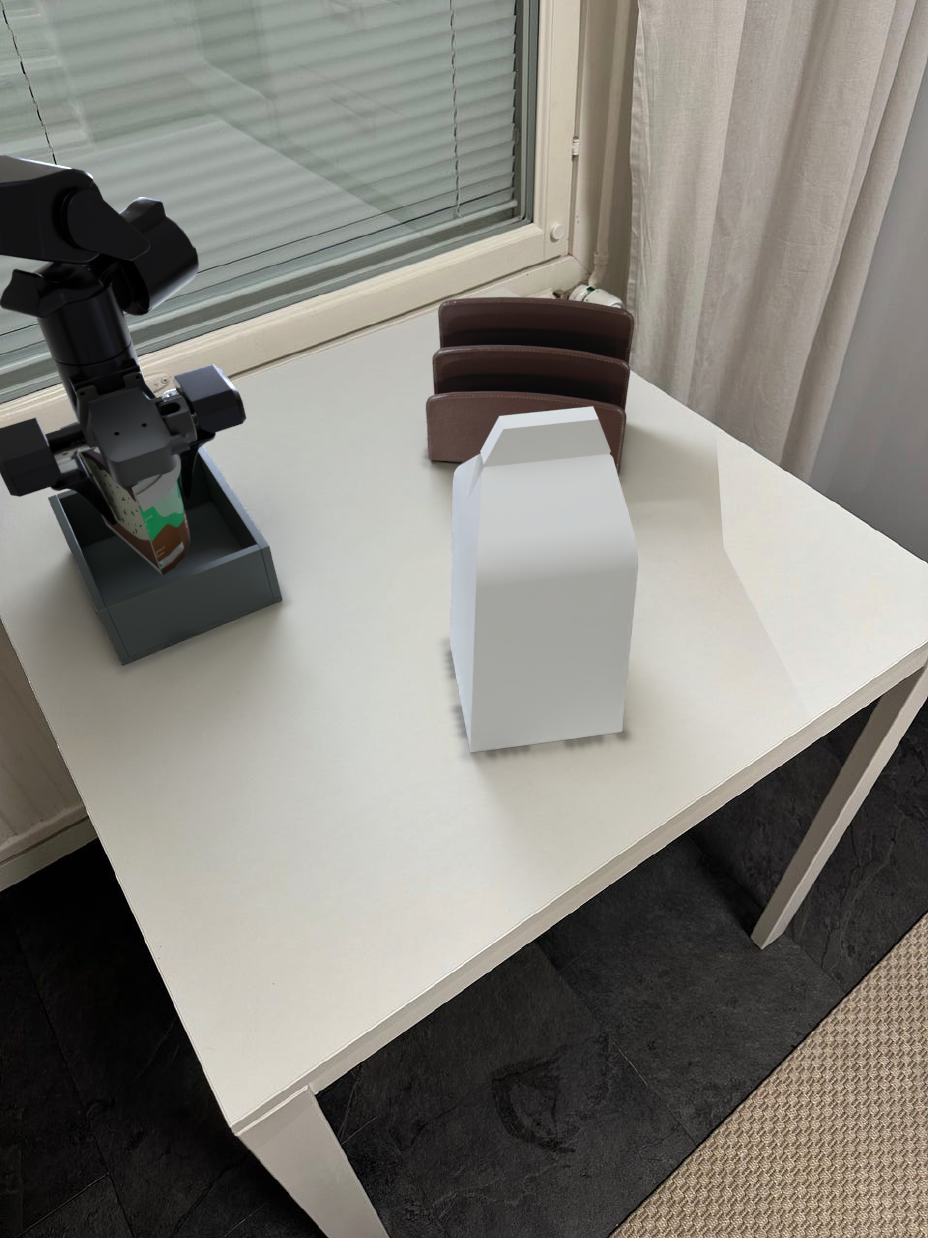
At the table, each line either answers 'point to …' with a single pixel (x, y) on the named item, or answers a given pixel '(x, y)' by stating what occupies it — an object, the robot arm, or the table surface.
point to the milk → (541, 583)
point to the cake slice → (145, 512)
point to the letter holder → (525, 368)
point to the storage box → (188, 594)
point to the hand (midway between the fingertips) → (150, 509)
